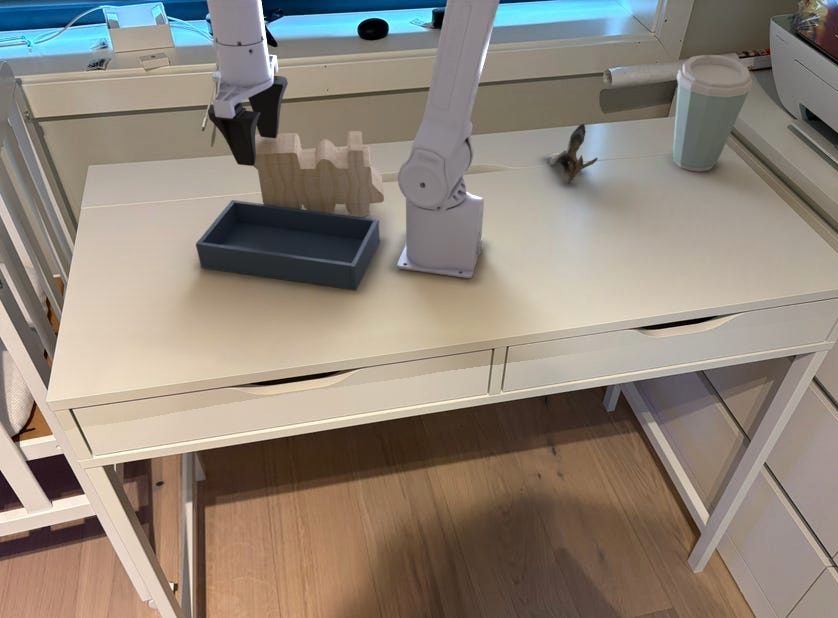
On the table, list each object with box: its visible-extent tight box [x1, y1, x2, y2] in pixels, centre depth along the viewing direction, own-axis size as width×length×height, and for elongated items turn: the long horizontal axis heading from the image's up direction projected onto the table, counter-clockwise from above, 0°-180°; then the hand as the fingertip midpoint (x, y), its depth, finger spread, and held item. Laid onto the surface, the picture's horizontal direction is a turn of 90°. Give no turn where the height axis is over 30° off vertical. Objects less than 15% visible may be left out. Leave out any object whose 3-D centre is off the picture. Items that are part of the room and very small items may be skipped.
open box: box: [195, 199, 380, 291], centre depth 91 cm, size 20×11×4 cm, turn 79°
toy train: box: [252, 130, 385, 218], centre depth 97 cm, size 6×17×10 cm, turn 97°
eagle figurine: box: [544, 123, 599, 185], centre depth 109 cm, size 8×7×9 cm
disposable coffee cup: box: [672, 54, 753, 172], centre depth 109 cm, size 11×11×15 cm
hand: (258, 149), depth 91 cm, fingers open, 7 cm apart
